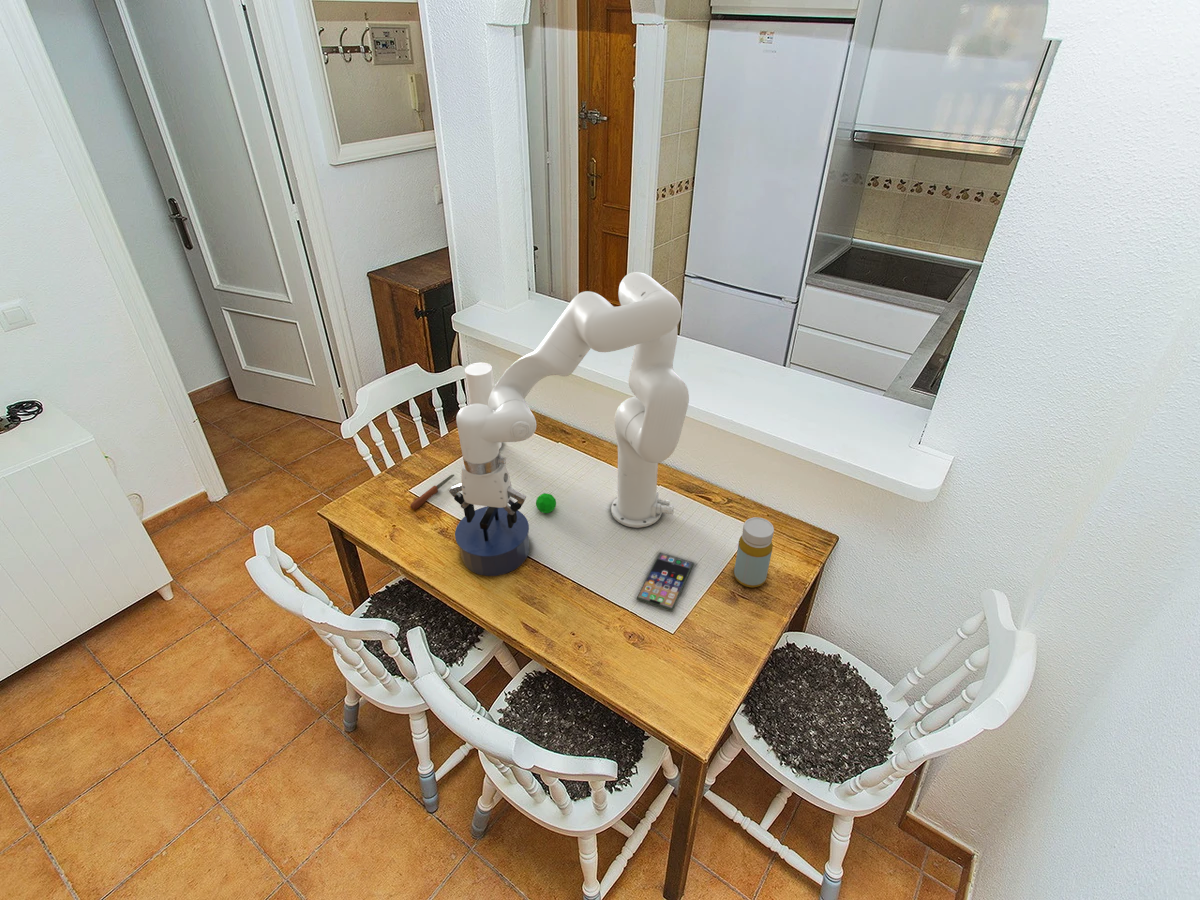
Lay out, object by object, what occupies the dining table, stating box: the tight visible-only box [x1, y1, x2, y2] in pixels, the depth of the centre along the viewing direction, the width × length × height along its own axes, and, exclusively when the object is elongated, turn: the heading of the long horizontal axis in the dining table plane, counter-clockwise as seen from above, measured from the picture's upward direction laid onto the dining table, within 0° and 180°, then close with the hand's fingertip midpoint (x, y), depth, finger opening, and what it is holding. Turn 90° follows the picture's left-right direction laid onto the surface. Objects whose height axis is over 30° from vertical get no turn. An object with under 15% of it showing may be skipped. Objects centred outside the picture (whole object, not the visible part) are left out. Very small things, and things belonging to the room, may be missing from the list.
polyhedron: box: [535, 492, 557, 514], centre depth 157 cm, size 5×5×5 cm
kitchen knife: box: [409, 473, 455, 511], centre depth 164 cm, size 16×1×2 cm, turn 149°
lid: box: [454, 506, 530, 557], centre depth 142 cm, size 17×17×6 cm
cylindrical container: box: [464, 361, 503, 450], centre depth 174 cm, size 7×7×25 cm
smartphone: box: [635, 552, 695, 612], centre depth 138 cm, size 8×15×1 cm, turn 156°
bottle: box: [733, 516, 775, 588], centre depth 135 cm, size 7×7×15 cm
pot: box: [458, 534, 530, 577], centre depth 145 cm, size 16×16×6 cm
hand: (491, 521), depth 142 cm, fingers open, 9 cm apart
